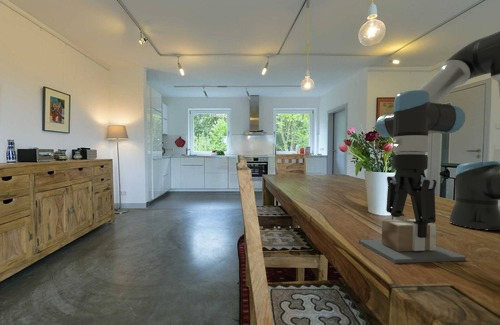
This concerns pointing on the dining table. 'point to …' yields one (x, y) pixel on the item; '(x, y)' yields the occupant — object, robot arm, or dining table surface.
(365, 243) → the mat
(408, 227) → the block
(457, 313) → the dining table surface
